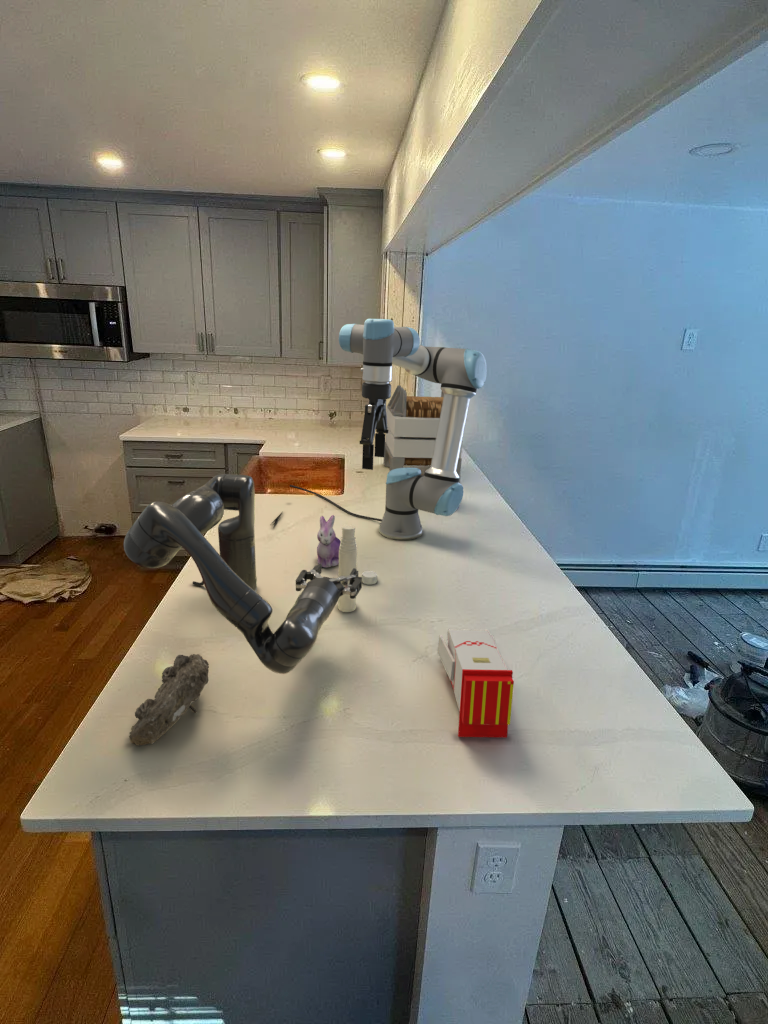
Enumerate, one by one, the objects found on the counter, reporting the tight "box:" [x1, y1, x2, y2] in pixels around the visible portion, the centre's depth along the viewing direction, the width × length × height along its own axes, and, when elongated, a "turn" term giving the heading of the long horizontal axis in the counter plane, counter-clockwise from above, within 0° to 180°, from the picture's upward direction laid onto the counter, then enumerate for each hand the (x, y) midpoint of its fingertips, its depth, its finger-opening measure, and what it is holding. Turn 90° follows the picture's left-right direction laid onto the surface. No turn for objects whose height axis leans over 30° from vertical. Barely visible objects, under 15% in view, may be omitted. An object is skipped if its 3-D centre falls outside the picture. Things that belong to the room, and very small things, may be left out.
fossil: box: [128, 653, 210, 746], centre depth 108 cm, size 22×10×15 cm
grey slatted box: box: [383, 384, 464, 483], centre depth 268 cm, size 34×33×41 cm
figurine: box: [316, 514, 341, 568], centre depth 173 cm, size 9×10×15 cm
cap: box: [361, 570, 378, 586], centre depth 164 cm, size 4×4×2 cm
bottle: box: [337, 524, 358, 613], centre depth 146 cm, size 5×5×23 cm
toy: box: [437, 628, 515, 738], centre depth 117 cm, size 12×13×30 cm
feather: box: [270, 512, 283, 529], centre depth 212 cm, size 2×28×2 cm
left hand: (337, 569), depth 134 cm, fingers open, 8 cm apart
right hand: (373, 462), depth 152 cm, fingers open, 13 cm apart
